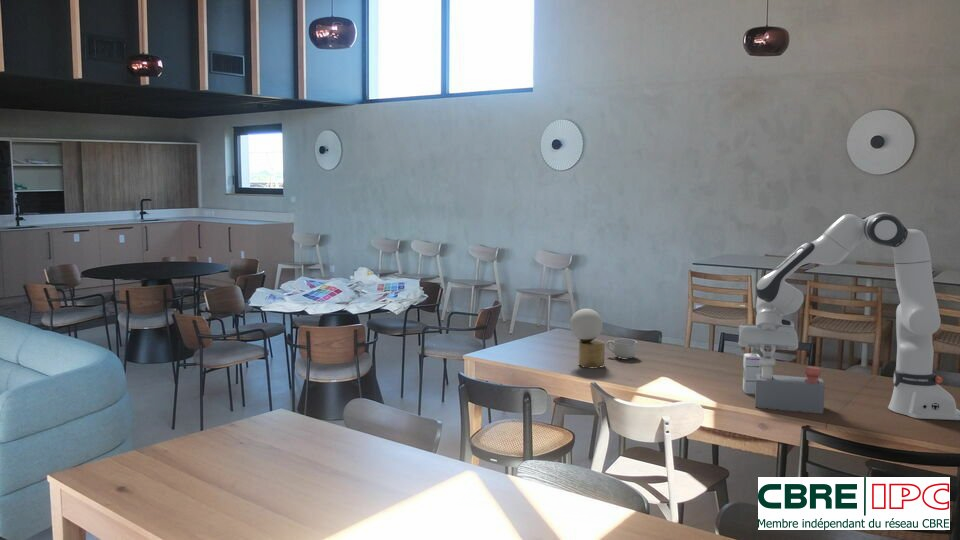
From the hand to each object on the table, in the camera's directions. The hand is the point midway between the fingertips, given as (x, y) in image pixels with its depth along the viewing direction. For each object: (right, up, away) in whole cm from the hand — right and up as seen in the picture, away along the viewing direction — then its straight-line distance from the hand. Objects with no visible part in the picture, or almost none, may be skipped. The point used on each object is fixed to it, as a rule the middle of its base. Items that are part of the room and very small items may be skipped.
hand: (767, 357), depth 271 cm
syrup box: (+1, -16, +19) cm, 25 cm away
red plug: (+14, -17, -3) cm, 23 cm away
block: (+7, -18, 0) cm, 19 cm away
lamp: (-56, -11, +62) cm, 84 cm away
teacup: (-38, -9, +77) cm, 86 cm away
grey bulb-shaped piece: (0, -14, +2) cm, 15 cm away
